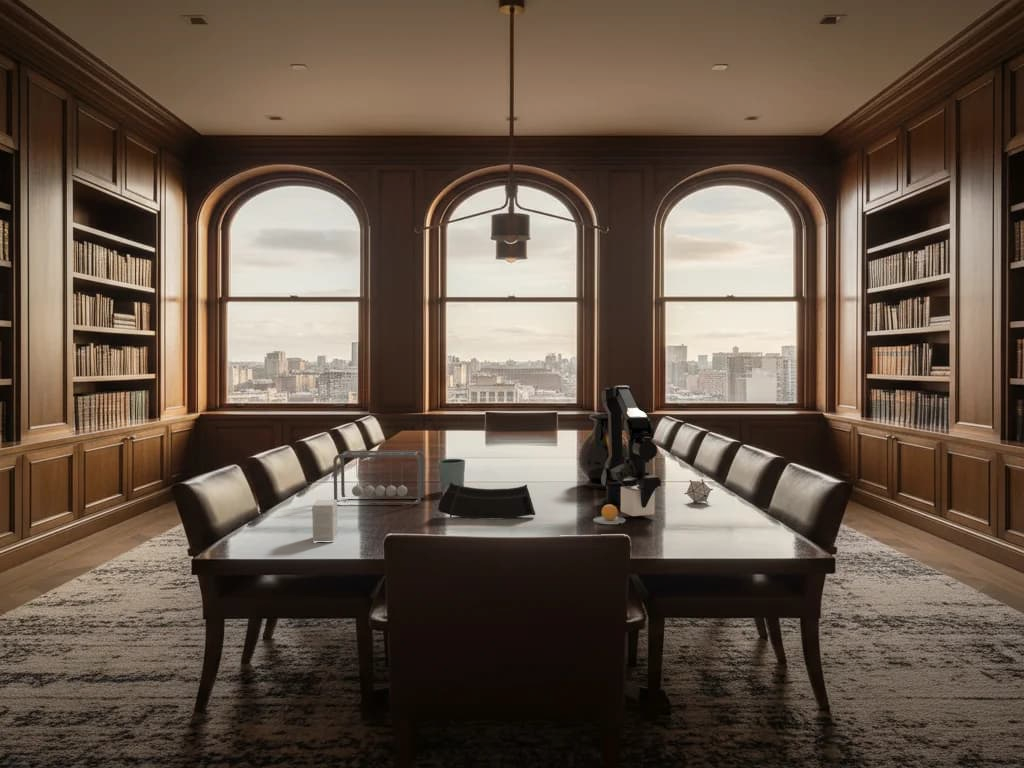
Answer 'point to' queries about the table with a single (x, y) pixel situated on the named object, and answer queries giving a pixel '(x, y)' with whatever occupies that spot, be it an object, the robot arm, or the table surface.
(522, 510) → the curved black tray
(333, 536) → the small box
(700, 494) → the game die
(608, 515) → the ball
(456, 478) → the green cup
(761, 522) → the table surface
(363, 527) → the table surface
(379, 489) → the newton's cradle
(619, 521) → the disc
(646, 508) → the block
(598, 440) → the amphora vase
